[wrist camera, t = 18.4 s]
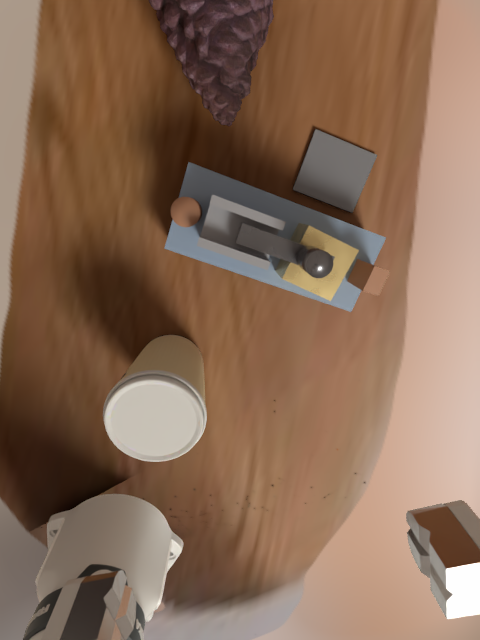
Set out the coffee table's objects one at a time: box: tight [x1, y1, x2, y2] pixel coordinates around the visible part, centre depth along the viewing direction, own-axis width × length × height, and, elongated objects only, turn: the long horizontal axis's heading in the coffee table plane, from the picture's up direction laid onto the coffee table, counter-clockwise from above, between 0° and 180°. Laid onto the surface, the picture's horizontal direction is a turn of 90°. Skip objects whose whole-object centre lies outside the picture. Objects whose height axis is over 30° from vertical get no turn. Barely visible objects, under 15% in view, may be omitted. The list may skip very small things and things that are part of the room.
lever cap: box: [275, 223, 359, 301], centre depth 31 cm, size 5×5×4 cm
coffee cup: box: [103, 335, 207, 462], centre depth 36 cm, size 9×9×12 cm
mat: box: [293, 129, 377, 213], centre depth 35 cm, size 6×7×1 cm
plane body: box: [164, 162, 390, 312], centre depth 32 cm, size 8×20×11 cm, turn 71°
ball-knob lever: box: [235, 223, 335, 278], centre depth 26 cm, size 2×8×4 cm, turn 70°
